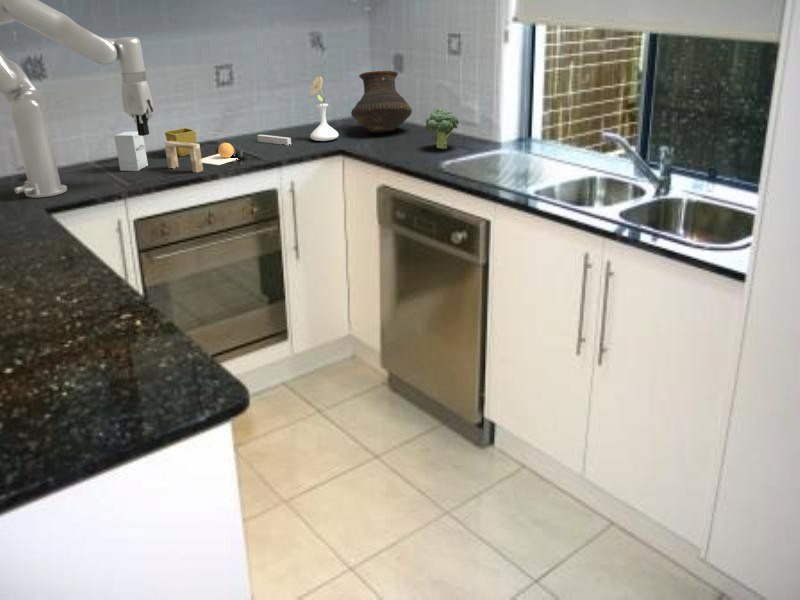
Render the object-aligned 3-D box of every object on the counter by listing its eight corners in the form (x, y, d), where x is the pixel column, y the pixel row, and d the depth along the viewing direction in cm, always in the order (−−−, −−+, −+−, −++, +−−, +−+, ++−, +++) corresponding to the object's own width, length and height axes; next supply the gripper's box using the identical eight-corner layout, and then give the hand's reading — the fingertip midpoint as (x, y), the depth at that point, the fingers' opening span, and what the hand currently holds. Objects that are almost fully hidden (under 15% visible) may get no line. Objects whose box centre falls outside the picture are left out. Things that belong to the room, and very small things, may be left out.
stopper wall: (287, 145, 305) (287, 138, 304) (257, 141, 313) (257, 135, 312) (291, 144, 306) (290, 137, 305) (261, 140, 315) (260, 134, 314)
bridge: (196, 172, 270) (192, 145, 267) (168, 168, 278) (164, 142, 274) (203, 170, 272) (199, 144, 269) (174, 166, 280) (170, 140, 276)
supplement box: (138, 171, 276) (132, 135, 271) (119, 170, 277) (113, 135, 272) (149, 166, 283) (142, 131, 278) (130, 165, 284) (124, 131, 279)
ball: (224, 157, 284) (227, 142, 284) (213, 156, 287) (216, 140, 287) (235, 160, 289) (238, 145, 288) (225, 158, 292) (227, 143, 291)
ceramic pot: (352, 127, 302) (348, 68, 301) (352, 137, 326) (348, 83, 325) (415, 123, 303) (411, 65, 302) (410, 134, 328) (407, 79, 326)
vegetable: (451, 143, 295) (450, 103, 289) (464, 150, 284) (464, 108, 278) (421, 147, 292) (420, 106, 286) (433, 154, 281) (432, 112, 275)
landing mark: (218, 165, 279) (218, 164, 279) (193, 161, 286) (193, 161, 286) (244, 157, 289) (244, 156, 289) (219, 154, 296) (219, 153, 295)
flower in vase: (310, 137, 316) (304, 74, 306) (338, 136, 317) (333, 72, 307) (310, 144, 304) (304, 78, 294) (339, 142, 305) (335, 76, 295)
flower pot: (178, 158, 292) (174, 134, 288) (167, 155, 298) (164, 131, 294) (199, 154, 297) (196, 130, 293) (188, 151, 303) (185, 127, 299)
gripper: (109, 78, 252) (120, 135, 259) (139, 80, 244) (149, 139, 251) (128, 75, 257) (138, 131, 265) (158, 77, 249) (168, 134, 257)
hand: (143, 134), depth 258 cm, fingers closed
